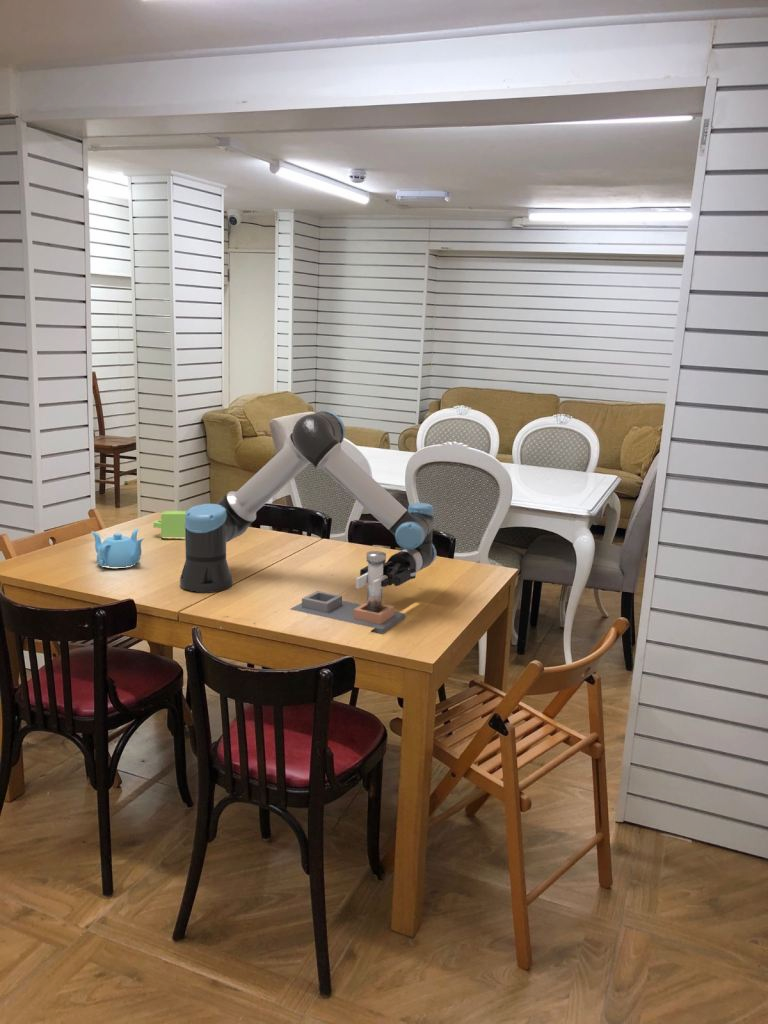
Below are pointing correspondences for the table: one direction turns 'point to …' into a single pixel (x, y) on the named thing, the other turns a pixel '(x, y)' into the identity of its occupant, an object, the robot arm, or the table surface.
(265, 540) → the table surface
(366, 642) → the table surface
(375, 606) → the pin
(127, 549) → the teapot
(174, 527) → the gearbox
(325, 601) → the dock board
